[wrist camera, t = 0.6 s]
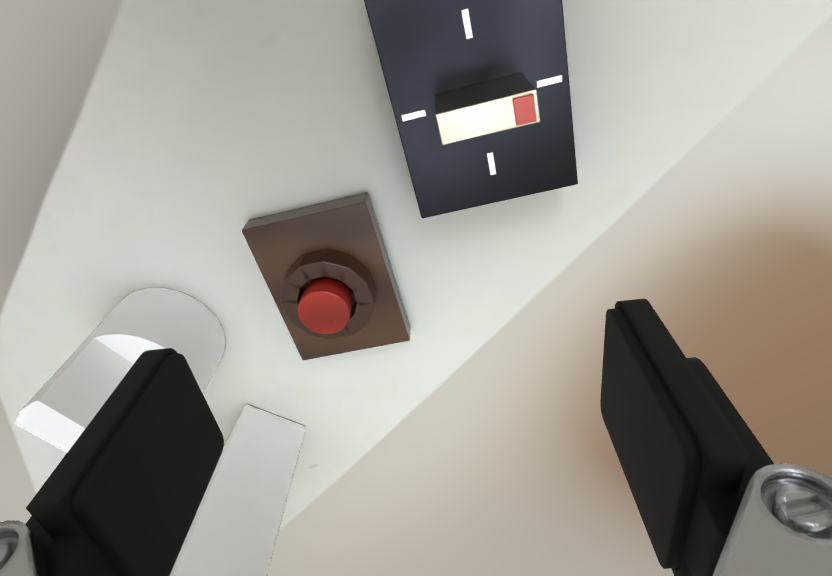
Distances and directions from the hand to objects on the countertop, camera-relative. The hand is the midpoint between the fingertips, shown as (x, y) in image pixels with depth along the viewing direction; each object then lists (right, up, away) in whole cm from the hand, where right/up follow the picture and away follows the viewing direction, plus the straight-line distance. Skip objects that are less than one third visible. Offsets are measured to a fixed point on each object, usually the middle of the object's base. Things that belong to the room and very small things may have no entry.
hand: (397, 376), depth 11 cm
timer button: (-6, +1, +25) cm, 26 cm away
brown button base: (-6, +3, +28) cm, 29 cm away
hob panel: (+4, +14, +20) cm, 25 cm away
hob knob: (+4, +13, +18) cm, 22 cm away
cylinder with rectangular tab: (-20, -2, +31) cm, 37 cm away
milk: (-14, -12, +37) cm, 42 cm away
